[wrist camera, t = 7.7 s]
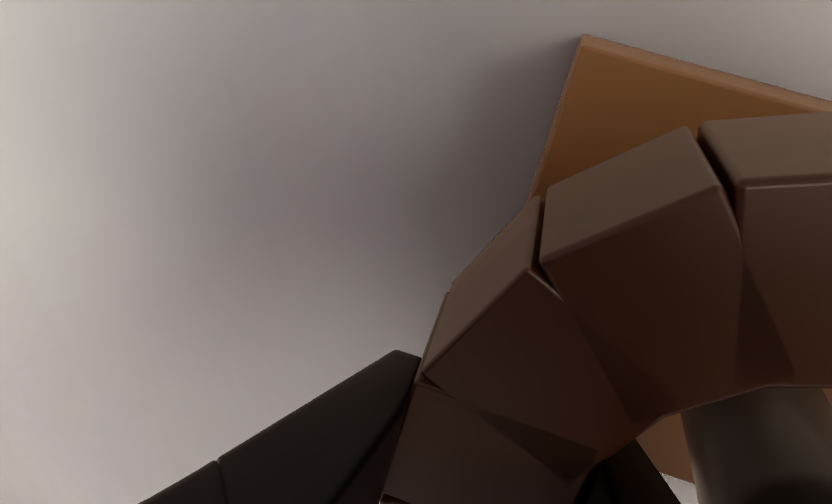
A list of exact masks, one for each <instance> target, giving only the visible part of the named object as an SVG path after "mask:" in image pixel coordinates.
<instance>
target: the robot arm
mask: <svg viewBox="0 0 832 504" xmlns="http://www.w3.org/2000/svg"><path fill="white" fill-rule="evenodd" d="M421 359H422V358H421V357H418V356H415V355H412V354H409V353H406V352H403V351H400V350H394V351H392V352H390V353H388V354H387V355H385V356H384V357H382V358H380V359H379V360H377V361H375V362H374V363H372V364H370V365H369V366H367V367H366V368H364V369H362V370H361V371H359V372H357V373H356V374H354V375H353V376H351V377H349V378H348V379H346V380H344V381H343V382H341V383H339V384H338V385H336V386H335V387H333V388H331V389H330V390H328V391H326V392H325V393H323V394H321V395H320V396H318V397H317V398H315V399H313V400H312V401H310V402H308V403H307V404H305V405H304V406H302V407H300V408H299V409H297V410H295V411H294V412H292V413H290V414H289V415H287V416H286V417H284V418H282V419H281V420H279V421H277V422H276V423H274V424H272V425H271V426H269V427H268V428H266V429H264V430H263V431H261V432H259V433H258V434H256V435H254V436H253V437H251V438H250V439H248V440H246V441H245V442H243V443H241V444H240V445H238V446H237V447H235V448H233V449H232V450H230V451H228V452H227V453H225V454H223V455H222V456H220V457H219V458H218V459H217V461H211V462H210V463H208V464H207V465H205V466H203V467H202V468H200V469H198V470H197V471H195V472H194V473H192V474H190V475H189V476H187V477H185V478H183V479H182V480H180V481H178V482H176V483H175V484H173V485H171V486H169V487H168V488H166V489H164V490H162V491H161V492H159V493H157V494H155V495H154V496H152V497H150V498H148V499H146V500H144V501H142V502H140V503H138V504H379V501H380V498H381V495H382V492H383V488H384V485H385V481H386V478H387V474H388V471H389V467H390V464H391V460H392V457H393V454H394V450H395V447H396V443H397V440H398V436H399V433H400V429H401V426H402V422H403V419H404V415H405V412H406V409H407V405H408V402H409V394H410V391H411V388H412V384H413V381H414V379H415V376H416V373H417V370H418V368H419V365H420V362H421ZM575 504H681V503H680V502H679V500H678V499H677V497H676V496H675V494H674V493H673V492H672V490H671V489H670V487H669V486H668V484H667V483H666V481H665V480H664V479H663V477H662V476H661V474H660V473H659V471H658V470H657V469H656V467H655V466H654V464H653V463H652V461H651V460H650V458H649V457H648V456H647V454H646V453H645V451H644V450H643V448H642V447H641V446H640V444H639V443H638V441H637V440H636V438H635V439H634V440H632V441H631V442H630V443H628V444H627V445H626V446H624V447H623V448H622V449H620V450H619V451H617V452H616V453H615V454H613V455H612V456H611V457H609V458H608V459H607V460H603V461H602V462H601V463H600V464H599V465H598V466H597V467H596V468H594V469H593V470H592V471H591V473H590V475H589V477H588V479H587V481H586V483H585V485H584V487H583V489H582V490H581V492H580V494H579V496H578V498H577V500H576V502H575Z"/></svg>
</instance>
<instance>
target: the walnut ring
mask: <svg viewBox="0 0 832 504" xmlns="http://www.w3.org/2000/svg"><path fill="white" fill-rule="evenodd" d="M767 387H773V388H832V111H830V112H816V113H803V114H790V115H777V116H763V117H750V118H737V119H724V120H710V121H705V122H703V123H700V125H699V127H698V136H697V140H696V138H695V136H694V135H693V133H692V131H691V130H690V129H689V128H688V127H687V126H684V127H680V128H677V129H675V130H673V131H671V132H668V133H666V134H664V135H662V136H660V137H657V138H655V139H653V140H651V141H649V142H646V143H644V144H642V145H640V146H637V147H635V148H633V149H631V150H629V151H626V152H624V153H622V154H620V155H618V156H615V157H613V158H611V159H609V160H607V161H604V162H602V163H600V164H598V165H595V166H593V167H591V168H589V169H587V170H584V171H582V172H580V173H578V174H576V175H573V176H571V177H569V178H567V179H565V180H562V181H560V182H558V183H556V184H553V185H551V186H550V187H549V188H548V189H547V194H546V199H544V198H543V197H542V196H540V195H537V196H534V197H533V198H532V200H531V201H530V202H529V203H528V204H527V205H526V206H525V207H524V208H523V209H522V210H521V211H520V212H519V213H518V214H517V215H516V216H515V217H514V218H513V219H512V221H511V222H510V223H509V224H508V225H507V226H506V227H505V228H504V229H503V230H502V231H501V232H500V233H499V234H498V235H497V236H496V237H495V238H494V239H493V240H492V241H491V243H490V244H489V245H488V246H487V247H486V248H485V249H484V250H483V251H482V252H481V253H480V254H479V255H478V256H477V257H476V258H475V259H474V260H473V261H472V262H471V264H470V265H469V266H468V267H467V268H466V269H465V270H464V271H463V272H462V273H461V274H460V275H459V276H458V277H457V278H456V279H455V280H454V281H453V283H452V285H451V288H450V291H449V292H447V293H446V294H445V296H444V299H443V302H442V304H441V307H440V310H439V313H438V315H437V318H436V321H435V324H434V326H433V329H432V332H431V335H430V337H429V340H428V343H427V346H426V348H425V351H424V354H423V357H422V359H421V362H420V365H419V368H418V370H417V373H416V376H415V379H414V381H413V384H412V388H411V391H410V394H409V402H408V405H407V409H406V412H405V415H404V419H403V422H402V426H401V429H400V433H399V436H398V440H397V443H396V447H395V450H394V454H393V457H392V460H391V464H390V467H389V471H388V474H387V478H386V481H385V485H384V488H383V492H382V495H381V498H380V504H575V502H576V500H577V498H578V496H579V494H580V492H581V490H582V489H583V487H584V485H585V483H586V481H587V479H588V477H589V475H590V473H591V471H592V470H593V469H594V468H596V467H597V466H598V465H599V464H600V463H601V462H602V461H603V460H607V459H608V458H609V457H611V456H612V455H613V454H615V453H616V452H617V451H619V450H620V449H622V448H623V447H624V446H626V445H627V444H628V443H630V442H631V441H632V440H634V439H635V438H637V437H638V436H639V435H641V434H642V433H643V432H645V431H646V430H647V429H649V428H650V427H651V426H653V425H654V424H656V423H657V422H658V421H660V420H661V419H662V418H665V417H668V416H671V415H675V414H678V413H682V412H685V411H688V410H692V409H695V408H699V407H702V406H706V405H709V404H712V403H716V402H719V401H723V400H726V399H729V398H733V397H736V396H740V395H743V394H747V393H750V392H753V391H757V390H760V389H764V388H767Z"/></svg>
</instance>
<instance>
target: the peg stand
mask: <svg viewBox="0 0 832 504" xmlns="http://www.w3.org/2000/svg"><path fill="white" fill-rule="evenodd" d="M830 111H832V102H831V101H827V100H824V99H820V98H817V97H813V96H809V95H806V94H802V93H798V92H795V91H791V90H787V89H784V88H780V87H776V86H773V85H769V84H765V83H762V82H758V81H754V80H751V79H747V78H743V77H740V76H736V75H732V74H729V73H725V72H721V71H718V70H714V69H710V68H707V67H703V66H700V65H696V64H692V63H689V62H685V61H681V60H678V59H674V58H670V57H667V56H663V55H659V54H656V53H652V52H648V51H645V50H641V49H637V48H634V47H630V46H626V45H623V44H619V43H615V42H612V41H608V40H604V39H601V38H597V37H593V36H590V35H586V34H585V35H582V36H581V37H580V40H579V43H578V46H577V49H576V52H575V56H574V59H573V62H572V65H571V68H570V71H569V74H568V77H567V80H566V83H565V86H564V89H563V92H562V95H561V98H560V101H559V104H558V107H557V110H556V113H555V116H554V119H553V122H552V125H551V128H550V131H549V134H548V137H547V140H546V143H545V146H544V149H543V152H542V155H541V158H540V161H539V164H538V167H537V170H536V173H535V176H534V179H533V182H532V185H531V188H530V191H529V194H528V197H527V200H526V203H525V206H526V205H527V204H528V203H529V202H530V201H531V200H532V198H533V197H534V196H537V195H540V196H542V197H543V198H544V199H546V194H547V189H548V188H549V187H550V186H551V185H553V184H556V183H558V182H560V181H562V180H565V179H567V178H569V177H571V176H573V175H576V174H578V173H580V172H582V171H584V170H587V169H589V168H591V167H593V166H595V165H598V164H600V163H602V162H604V161H607V160H609V159H611V158H613V157H615V156H618V155H620V154H622V153H624V152H626V151H629V150H631V149H633V148H635V147H637V146H640V145H642V144H644V143H646V142H649V141H651V140H653V139H655V138H657V137H660V136H662V135H664V134H666V133H668V132H671V131H673V130H675V129H677V128H680V127H684V126H687V127H688V128H689V129H690V130H691V131H692V133H693V135H694V136H695V138H696V140H697V136H698V127H699V125H700V123H703V122H705V121H710V120H724V119H737V118H750V117H763V116H777V115H790V114H803V113H816V112H830ZM525 206H524V207H525ZM636 440H637V441H638V443H639V444H640V446H641V447H642V448H643V450H644V451H645V453H646V454H647V456H648V457H649V458H650V460H651V461H652V463H653V464H654V466H655V467H656V469H657V470H658V471H659V472H660V473H663V474H666V475H669V476H672V477H675V478H678V479H681V480H684V481H687V482H690V483H693V484H695V488H696V493H697V498H698V503H699V504H832V388H773V387H767V388H764V389H760V390H757V391H753V392H750V393H747V394H743V395H740V396H736V397H733V398H729V399H726V400H723V401H719V402H716V403H712V404H709V405H706V406H702V407H699V408H695V409H692V410H688V411H685V412H682V413H678V414H675V415H671V416H668V417H665V418H662V419H661V420H660V421H658V422H657V423H656V424H654V425H653V426H651V427H650V428H649V429H647V430H646V431H645V432H643V433H642V434H641V435H639V436H638V437H637V438H636Z"/></svg>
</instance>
